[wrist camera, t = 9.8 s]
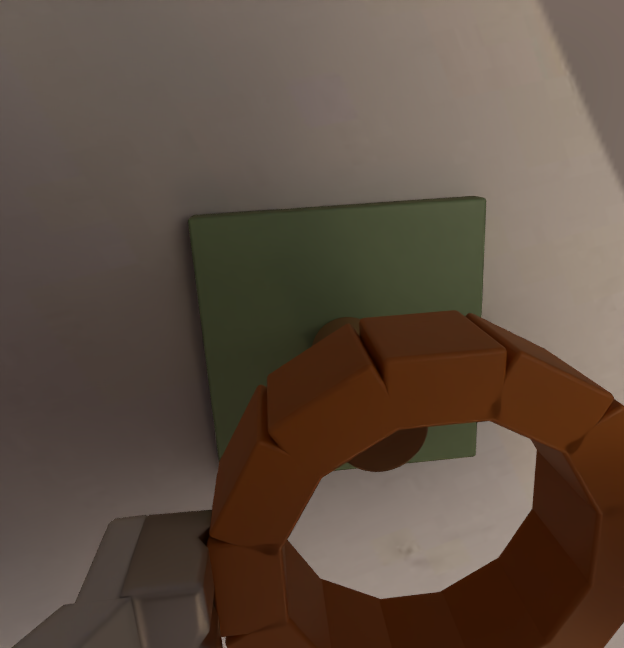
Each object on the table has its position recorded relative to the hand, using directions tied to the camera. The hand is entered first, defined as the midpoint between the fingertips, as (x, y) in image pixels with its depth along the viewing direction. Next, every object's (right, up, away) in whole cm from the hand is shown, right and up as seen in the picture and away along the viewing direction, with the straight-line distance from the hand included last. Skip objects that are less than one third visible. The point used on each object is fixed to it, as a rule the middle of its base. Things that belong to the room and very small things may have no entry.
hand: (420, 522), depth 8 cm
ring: (0, 0, +1) cm, 1 cm away
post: (-1, +3, +8) cm, 8 cm away
